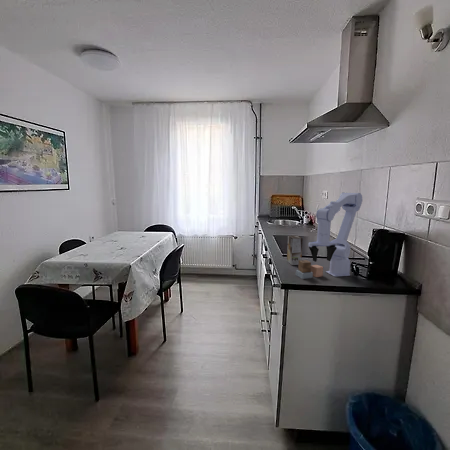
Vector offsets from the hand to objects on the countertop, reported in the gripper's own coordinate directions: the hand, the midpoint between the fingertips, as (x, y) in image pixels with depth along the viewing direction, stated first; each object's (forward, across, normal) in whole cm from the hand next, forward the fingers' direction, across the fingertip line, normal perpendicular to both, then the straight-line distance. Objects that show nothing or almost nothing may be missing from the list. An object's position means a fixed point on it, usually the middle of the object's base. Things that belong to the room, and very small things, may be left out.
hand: (321, 260), depth 130 cm
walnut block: (+7, +5, -7) cm, 11 cm away
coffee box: (+10, -1, -30) cm, 32 cm away
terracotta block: (+10, -2, -7) cm, 12 cm away
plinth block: (+10, +5, -7) cm, 13 cm away
